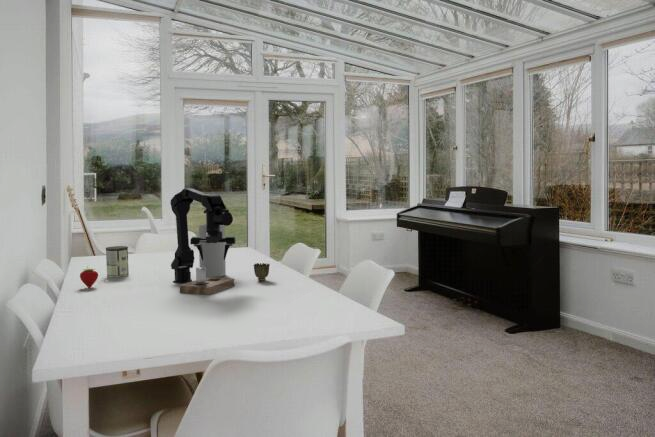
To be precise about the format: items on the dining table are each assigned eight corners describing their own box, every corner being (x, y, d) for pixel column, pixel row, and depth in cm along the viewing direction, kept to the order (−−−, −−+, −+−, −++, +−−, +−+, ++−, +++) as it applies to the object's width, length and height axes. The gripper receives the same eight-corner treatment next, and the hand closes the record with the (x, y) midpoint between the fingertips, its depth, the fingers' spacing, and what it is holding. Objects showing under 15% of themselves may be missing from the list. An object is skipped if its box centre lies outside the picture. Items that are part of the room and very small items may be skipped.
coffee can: (112, 273, 277) (111, 245, 276) (132, 273, 276) (131, 246, 275) (102, 277, 267) (101, 248, 265) (122, 277, 265) (121, 248, 264)
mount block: (179, 292, 231) (179, 285, 231) (207, 283, 250) (207, 276, 250) (208, 294, 226) (208, 287, 226) (234, 285, 246) (233, 278, 245)
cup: (266, 282, 251) (266, 265, 251) (251, 282, 253) (251, 265, 252) (271, 279, 259) (271, 262, 258) (256, 279, 260) (256, 262, 260)
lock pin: (194, 291, 232) (194, 268, 232) (199, 289, 236) (199, 266, 235) (202, 292, 231) (202, 268, 230) (207, 290, 235) (207, 267, 234)
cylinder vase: (194, 277, 266) (193, 225, 264) (209, 272, 278) (208, 223, 276) (216, 278, 261) (215, 226, 260) (230, 274, 273) (229, 224, 271)
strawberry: (97, 288, 240) (96, 265, 239) (78, 289, 238) (78, 266, 237) (99, 285, 246) (98, 263, 245) (81, 286, 244) (80, 264, 243)
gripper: (188, 226, 226) (188, 263, 228) (233, 225, 228) (234, 262, 230) (191, 223, 237) (192, 259, 239) (235, 223, 239) (235, 258, 241)
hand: (213, 260), depth 237 cm, fingers open, 9 cm apart
